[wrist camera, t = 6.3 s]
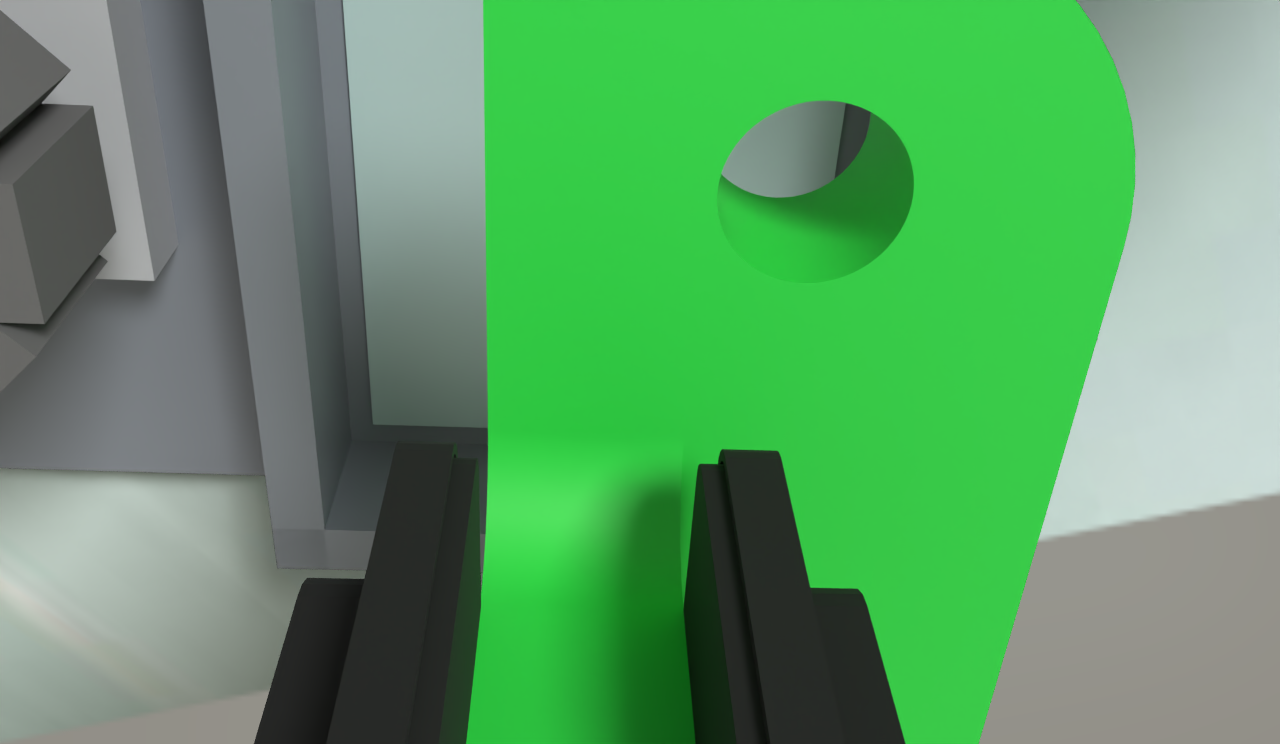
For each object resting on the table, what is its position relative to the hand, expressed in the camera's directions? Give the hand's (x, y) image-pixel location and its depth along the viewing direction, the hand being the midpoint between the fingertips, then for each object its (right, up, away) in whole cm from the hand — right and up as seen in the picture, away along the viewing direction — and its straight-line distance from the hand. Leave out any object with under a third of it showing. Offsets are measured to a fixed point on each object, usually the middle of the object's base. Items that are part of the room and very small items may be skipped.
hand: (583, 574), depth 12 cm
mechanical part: (+2, +2, +3) cm, 4 cm away
